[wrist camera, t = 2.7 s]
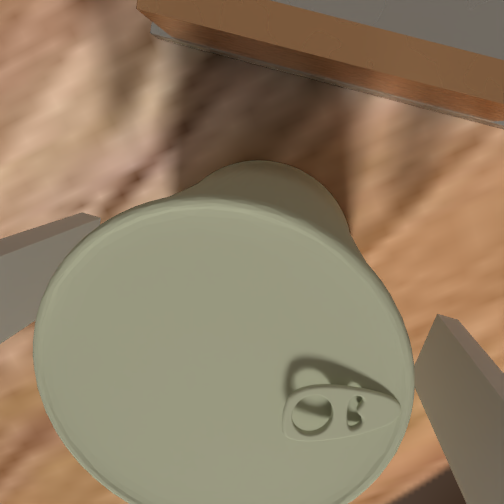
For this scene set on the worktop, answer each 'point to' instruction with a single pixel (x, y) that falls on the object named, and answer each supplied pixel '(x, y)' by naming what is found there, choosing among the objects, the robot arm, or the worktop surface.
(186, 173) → the worktop surface
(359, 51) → the rail holder
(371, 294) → the can
